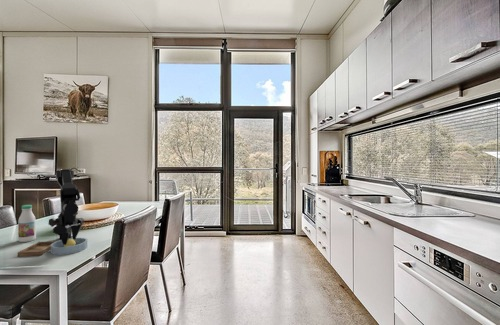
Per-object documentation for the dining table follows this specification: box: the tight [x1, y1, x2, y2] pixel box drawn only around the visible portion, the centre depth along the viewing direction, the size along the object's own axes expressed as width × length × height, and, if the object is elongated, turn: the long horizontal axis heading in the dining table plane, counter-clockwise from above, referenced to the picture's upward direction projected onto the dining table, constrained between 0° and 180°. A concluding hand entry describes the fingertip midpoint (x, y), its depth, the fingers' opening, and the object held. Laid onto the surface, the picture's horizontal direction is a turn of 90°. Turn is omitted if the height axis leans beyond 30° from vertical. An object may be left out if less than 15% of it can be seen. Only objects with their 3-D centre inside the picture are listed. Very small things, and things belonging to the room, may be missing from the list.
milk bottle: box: [17, 204, 37, 243], centre depth 152 cm, size 8×8×20 cm
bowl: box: [50, 237, 88, 256], centre depth 137 cm, size 16×16×4 cm
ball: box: [64, 239, 76, 247], centre depth 137 cm, size 5×5×5 cm
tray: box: [16, 240, 58, 258], centre depth 135 cm, size 16×10×2 cm, turn 8°
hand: (69, 241), depth 137 cm, fingers open, 9 cm apart
